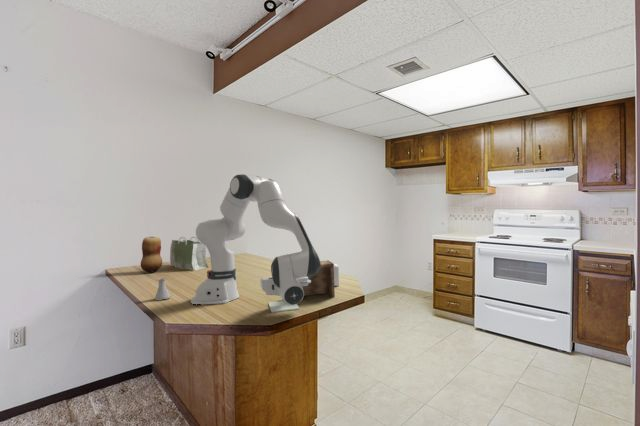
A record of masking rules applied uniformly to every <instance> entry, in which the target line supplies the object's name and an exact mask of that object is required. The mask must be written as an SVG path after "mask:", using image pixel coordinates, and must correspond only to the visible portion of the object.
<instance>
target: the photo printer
mask: <svg viewBox="0 0 640 426" xmlns="http://www.w3.org/2000/svg"><path fill="white" fill-rule="evenodd" d="M333 264H334V287H338V286H340V277H339V276H340V275H339V274H340V271H339V270H340V269H339V264H336V263H333Z"/></svg>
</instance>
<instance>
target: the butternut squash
mask: <svg viewBox="0 0 640 426" xmlns="http://www.w3.org/2000/svg"><path fill="white" fill-rule="evenodd" d="M161 251H162V240H161V238H160V237H158V236H147V237H144V238H143V240H142V243H141V252H142V256H141V257H142V258H141V260H140V268H141V269H142V271H144V272H146V273H147V272H150V273H154V272H153V271H155V272H156V271H158V270H159V269H161V267H162V266H163V258H162V256H161Z"/></svg>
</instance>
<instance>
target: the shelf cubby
mask: <svg viewBox="0 0 640 426" xmlns="http://www.w3.org/2000/svg"><path fill="white" fill-rule="evenodd" d="M320 263H321V268H320V270H319V271H318V273H317V274H316V275H315V276H309V277H308V279H309V280H311V283H309V284H308V285H307V286H302V287H303V290H304V296H312V295H322V294H328V295H329V296H330V297H331V298H335V296H336V295H335V286H334V264H335V263H333V262H332V261H330V260H328V259H327V260H320ZM303 299H304V298H303ZM303 299H302V300H301V301H300V302H302V301H304V300H303Z"/></svg>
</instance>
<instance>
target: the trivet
mask: <svg viewBox="0 0 640 426" xmlns="http://www.w3.org/2000/svg"><path fill="white" fill-rule="evenodd" d="M268 305H269V309H270V313H271V314H272V313H280V312H287V311H296V310H300V307H299V305H298V304H295V305H289V304H287V303H285V302H284V301H283V300H280V301H272V302H271V301H270V302H268Z"/></svg>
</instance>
